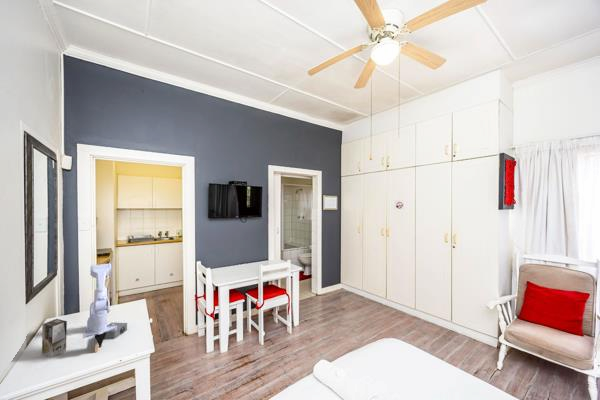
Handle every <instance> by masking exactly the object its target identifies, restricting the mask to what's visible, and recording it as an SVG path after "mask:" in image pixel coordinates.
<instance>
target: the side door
mask: <svg viewBox="0 0 600 400" xmlns="http://www.w3.org/2000/svg"><path fill="white" fill-rule="evenodd" d="M98 347H99V345H98V342H97V340H96V339H95V349H94V350H95V351H94V352H95V353H96V352H98Z"/></svg>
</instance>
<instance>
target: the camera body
mask: <svg viewBox="0 0 600 400" xmlns="http://www.w3.org/2000/svg"><path fill="white" fill-rule="evenodd" d="M115 325H117V330H112V331H109V332H106V336H105V338H104V340H109V339H110V340H111V339H112V340H115V339H117V338H118V337H120V336H121V335H122V334H123V333H125V332H126V331H127V330H128V323H127V322H111V323H109V324H107V327H109V326H115Z"/></svg>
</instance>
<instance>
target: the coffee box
mask: <svg viewBox="0 0 600 400" xmlns="http://www.w3.org/2000/svg"><path fill="white" fill-rule="evenodd" d="M67 327H68V321H67V320H64V319H59V318H56V319H52V320H49V321H47V322H44V323H42V327H41V328H42V331H41V332H42V333H41V338H42V339H41V343H42V344H41V354H42V355H44V356H47V357H51V358H54V357H55V356H58V355H61V354H62V353H65V352H66V351H67V329H68V328H67Z"/></svg>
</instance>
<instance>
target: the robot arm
mask: <svg viewBox="0 0 600 400" xmlns="http://www.w3.org/2000/svg"><path fill="white" fill-rule="evenodd" d="M111 273H112V263H110V262H109V263H102V264H100V263H99V264H91V265H90V276H91V277H92V278H95V279H96V282H95V283H96V286H95V287H96V289H95V290H94V295H93V298H94V299H93V302H91V303H90V305H89V317H88V318H87V321H86V330H85V332H84V333H82V340H83V339H86V338H89V337H93V336H94V339H95V341H96V340H97V342H98V348H99V349H100V348H102V345H103V342H104V340H105V339H104V338H105V336H106V332H109V331H112V330H117V325H115V326H109V327H107V325H108V314H109V313H110V312H111V310H110V309H111V305H110V300H109V297H108V288H107V287H106V279H107V276H110V274H111Z"/></svg>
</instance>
